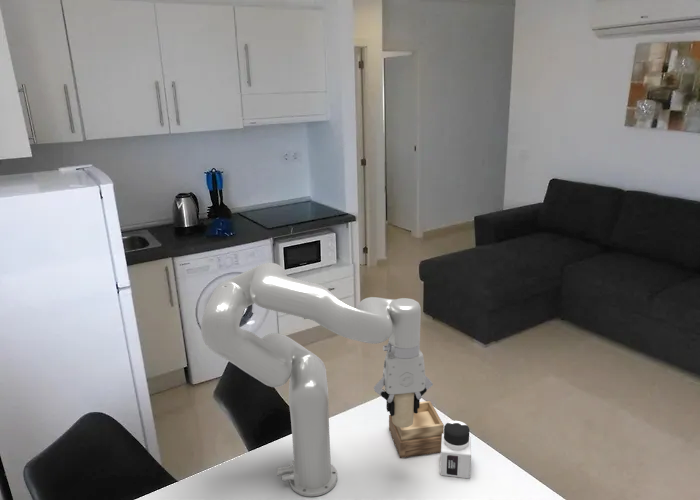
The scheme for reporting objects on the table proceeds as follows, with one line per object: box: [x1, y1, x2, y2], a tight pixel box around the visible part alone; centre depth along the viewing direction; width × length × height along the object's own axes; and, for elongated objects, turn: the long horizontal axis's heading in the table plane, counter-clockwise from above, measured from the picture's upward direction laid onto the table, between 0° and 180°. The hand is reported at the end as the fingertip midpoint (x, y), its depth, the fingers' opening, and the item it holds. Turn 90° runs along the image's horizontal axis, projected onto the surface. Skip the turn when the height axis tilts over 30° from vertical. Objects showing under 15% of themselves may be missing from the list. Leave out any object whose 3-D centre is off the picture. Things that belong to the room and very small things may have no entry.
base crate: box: [388, 414, 442, 459], centre depth 151 cm, size 13×13×5 cm
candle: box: [392, 393, 414, 428], centre depth 133 cm, size 6×6×10 cm
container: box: [439, 420, 472, 479], centre depth 139 cm, size 8×8×13 cm
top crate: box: [391, 400, 445, 441], centre depth 150 cm, size 12×12×4 cm
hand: (402, 411), depth 134 cm, fingers closed on candle, 5 cm apart
